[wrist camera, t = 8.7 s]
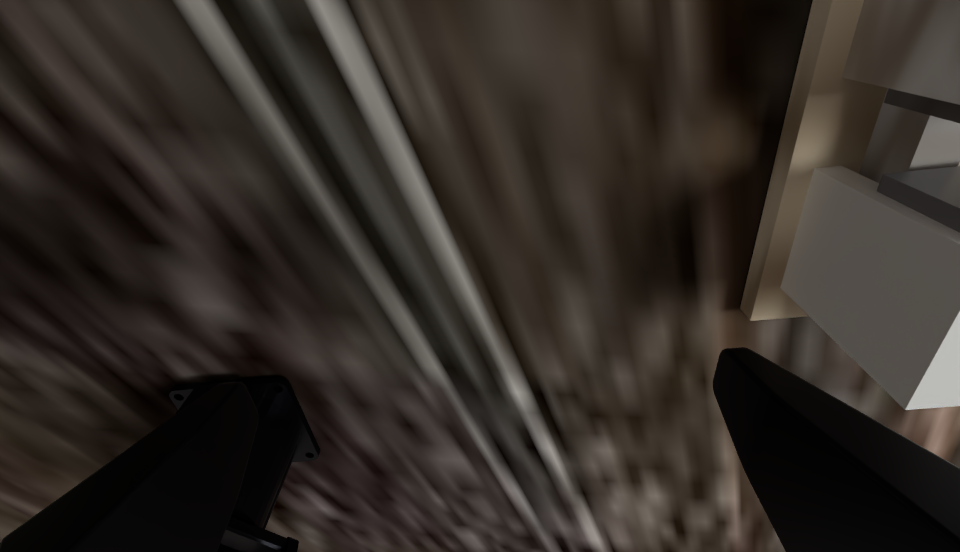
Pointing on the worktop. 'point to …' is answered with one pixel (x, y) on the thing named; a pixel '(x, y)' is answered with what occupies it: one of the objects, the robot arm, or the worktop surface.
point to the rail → (858, 116)
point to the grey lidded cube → (885, 276)
